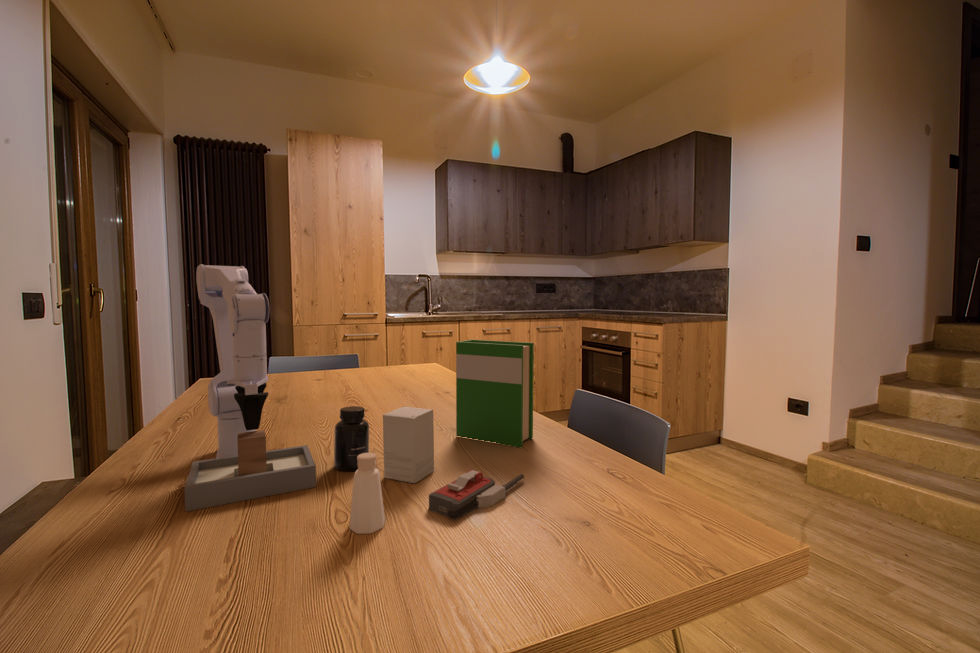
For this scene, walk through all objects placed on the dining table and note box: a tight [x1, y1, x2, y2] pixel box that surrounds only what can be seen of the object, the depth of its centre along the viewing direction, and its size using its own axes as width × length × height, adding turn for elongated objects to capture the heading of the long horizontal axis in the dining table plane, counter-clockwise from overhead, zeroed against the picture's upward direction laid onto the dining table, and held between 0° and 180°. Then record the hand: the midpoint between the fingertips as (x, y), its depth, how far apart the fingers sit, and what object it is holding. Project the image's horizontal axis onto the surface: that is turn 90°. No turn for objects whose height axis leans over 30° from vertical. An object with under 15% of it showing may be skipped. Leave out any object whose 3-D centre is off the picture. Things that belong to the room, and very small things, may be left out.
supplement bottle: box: [333, 405, 370, 472], centre depth 92 cm, size 7×7×12 cm
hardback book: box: [455, 339, 535, 448], centre depth 110 cm, size 18×7×24 cm, turn 63°
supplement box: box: [382, 406, 435, 484], centre depth 87 cm, size 7×7×13 cm
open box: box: [184, 444, 317, 512], centre depth 82 cm, size 13×20×4 cm, turn 119°
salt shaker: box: [348, 452, 386, 535], centre depth 68 cm, size 5×5×11 cm
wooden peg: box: [237, 429, 267, 476], centre depth 82 cm, size 4×4×9 cm
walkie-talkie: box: [428, 469, 525, 520], centre depth 78 cm, size 9×4×20 cm
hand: (252, 424), depth 87 cm, fingers open, 7 cm apart
